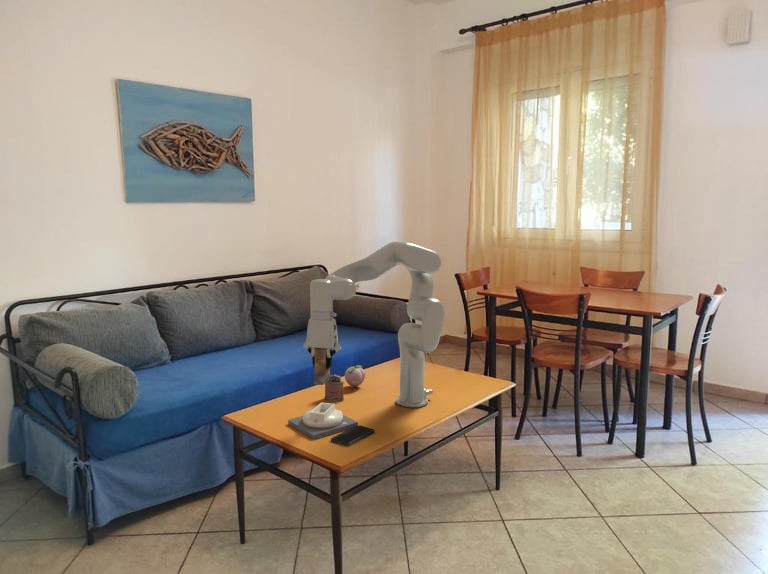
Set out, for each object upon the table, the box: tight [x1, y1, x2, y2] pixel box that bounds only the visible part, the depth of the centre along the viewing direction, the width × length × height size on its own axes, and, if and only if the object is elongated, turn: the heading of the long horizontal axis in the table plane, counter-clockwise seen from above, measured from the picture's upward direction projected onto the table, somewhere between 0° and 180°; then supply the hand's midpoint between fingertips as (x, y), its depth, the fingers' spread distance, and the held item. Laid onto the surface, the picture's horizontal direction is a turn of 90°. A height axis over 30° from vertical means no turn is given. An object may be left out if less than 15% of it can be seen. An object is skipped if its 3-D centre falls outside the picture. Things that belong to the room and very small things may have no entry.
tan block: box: [313, 348, 331, 386], centre depth 190 cm, size 4×7×12 cm, turn 164°
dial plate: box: [287, 414, 359, 440], centre depth 192 cm, size 18×17×2 cm
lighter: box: [324, 374, 345, 402], centre depth 218 cm, size 8×3×10 cm, turn 71°
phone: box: [330, 424, 376, 448], centre depth 183 cm, size 8×1×15 cm
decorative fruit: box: [344, 364, 366, 388], centre depth 233 cm, size 9×8×10 cm
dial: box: [302, 402, 344, 428], centre depth 192 cm, size 14×14×4 cm
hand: (322, 366), depth 190 cm, fingers closed on tan block, 4 cm apart
